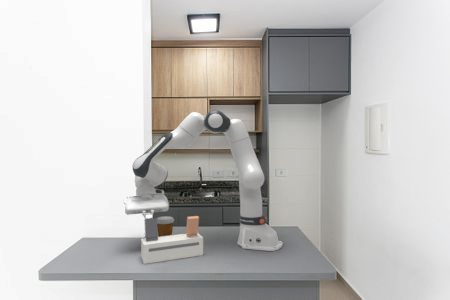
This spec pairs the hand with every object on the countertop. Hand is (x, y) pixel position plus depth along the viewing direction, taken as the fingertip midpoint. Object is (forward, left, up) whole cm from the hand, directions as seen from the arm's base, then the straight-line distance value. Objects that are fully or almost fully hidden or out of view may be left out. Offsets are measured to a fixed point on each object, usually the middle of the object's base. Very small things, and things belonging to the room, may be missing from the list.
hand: (148, 219), depth 138 cm
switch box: (-12, -2, -15) cm, 20 cm away
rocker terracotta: (-18, -8, -6) cm, 21 cm away
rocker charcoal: (-6, +5, -6) cm, 10 cm away
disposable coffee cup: (+5, -18, -16) cm, 24 cm away
